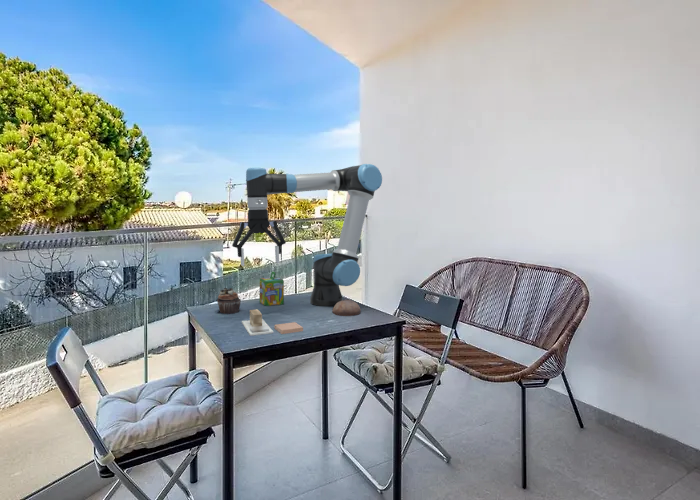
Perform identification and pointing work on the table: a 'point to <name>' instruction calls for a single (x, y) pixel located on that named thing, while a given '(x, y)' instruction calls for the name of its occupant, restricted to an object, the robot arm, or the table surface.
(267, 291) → the chalk box
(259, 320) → the beige boxy piece
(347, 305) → the decorative stone
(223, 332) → the table surface
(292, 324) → the tile
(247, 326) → the mat
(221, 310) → the cupcake
